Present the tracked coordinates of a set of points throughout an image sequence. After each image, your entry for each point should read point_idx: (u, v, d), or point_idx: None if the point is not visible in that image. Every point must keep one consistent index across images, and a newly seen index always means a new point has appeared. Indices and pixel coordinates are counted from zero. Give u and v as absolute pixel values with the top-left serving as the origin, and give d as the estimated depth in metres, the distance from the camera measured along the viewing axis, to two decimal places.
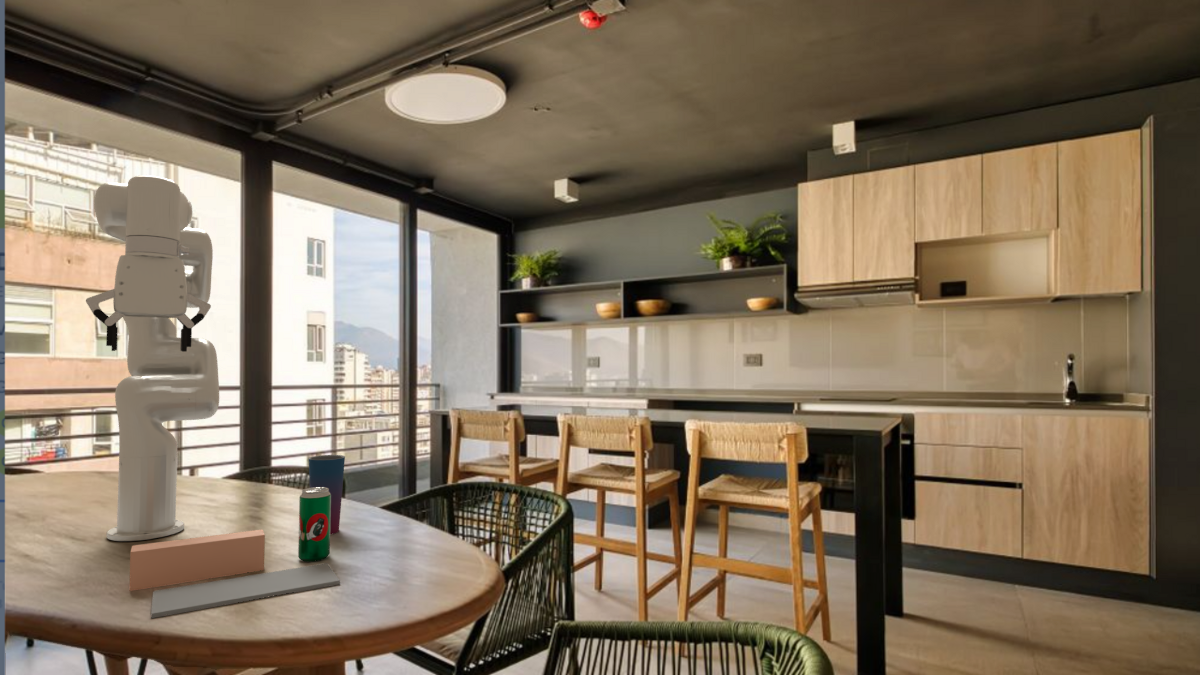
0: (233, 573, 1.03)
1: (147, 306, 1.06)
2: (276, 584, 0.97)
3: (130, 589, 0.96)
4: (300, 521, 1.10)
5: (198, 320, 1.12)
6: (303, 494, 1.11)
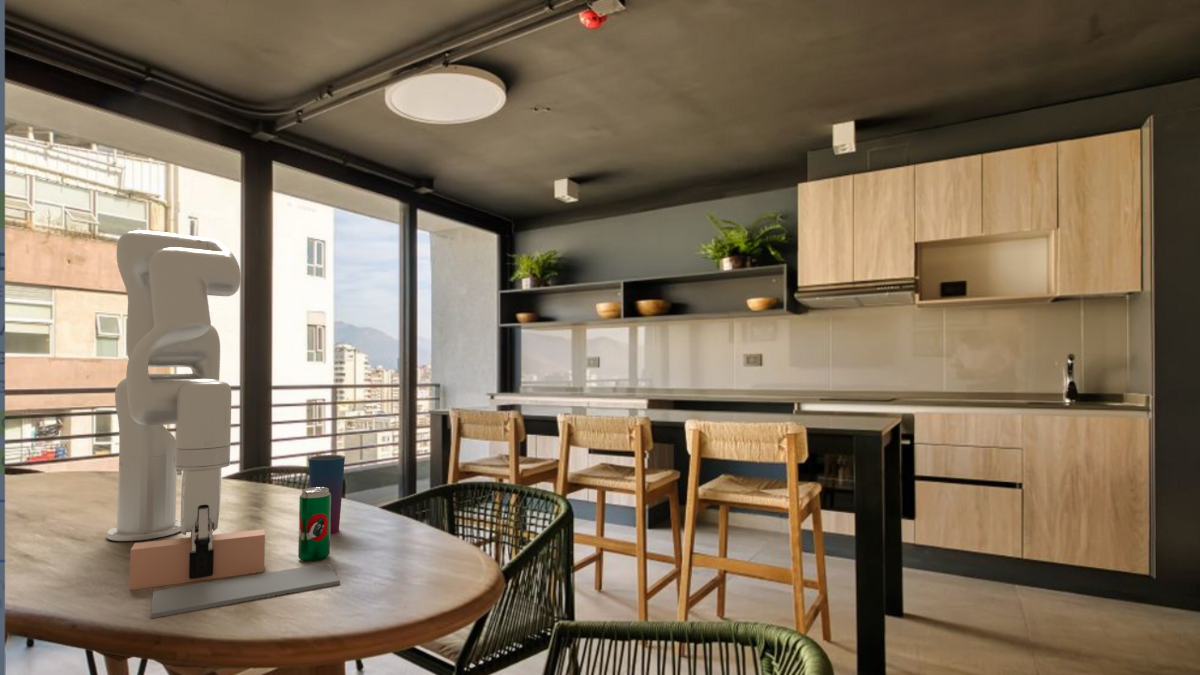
0: (233, 573, 1.03)
1: None
2: (276, 584, 0.97)
3: (130, 587, 0.97)
4: (300, 521, 1.10)
5: None
6: (303, 494, 1.11)
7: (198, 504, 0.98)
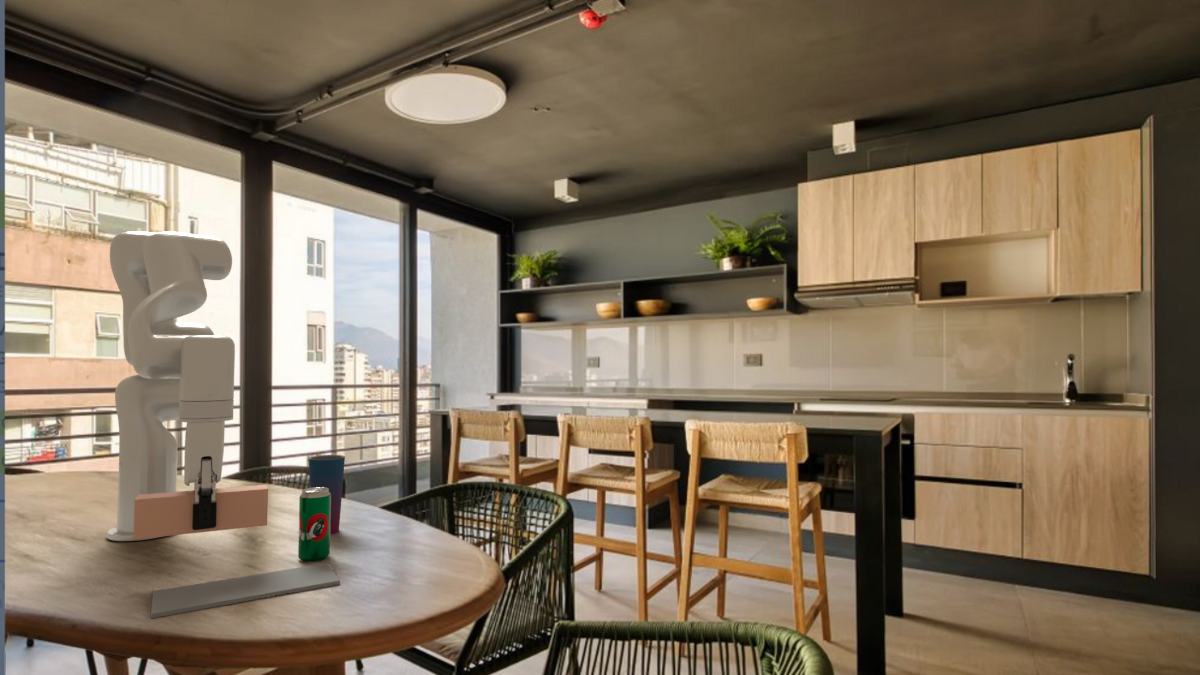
0: (236, 525, 1.04)
1: None
2: (276, 584, 0.97)
3: (134, 536, 0.97)
4: (300, 521, 1.10)
5: None
6: (303, 494, 1.11)
7: (201, 455, 0.99)
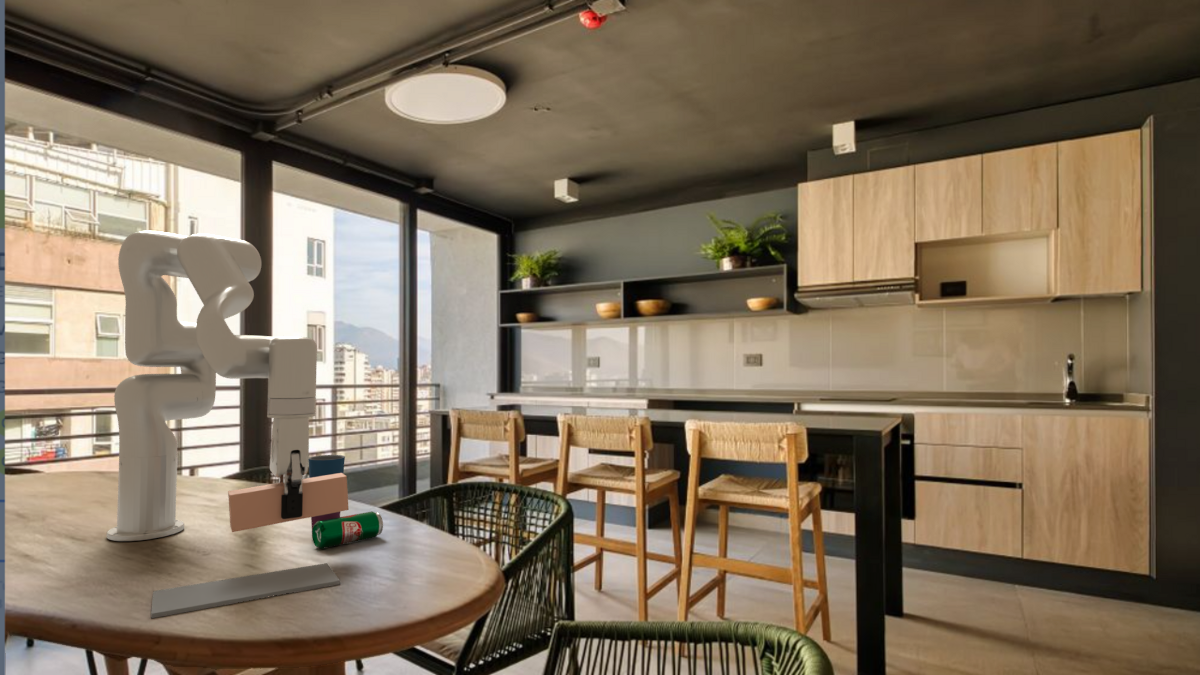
0: (321, 512, 1.11)
1: None
2: (276, 584, 0.97)
3: (232, 529, 1.04)
4: None
5: None
6: None
7: (291, 449, 1.06)
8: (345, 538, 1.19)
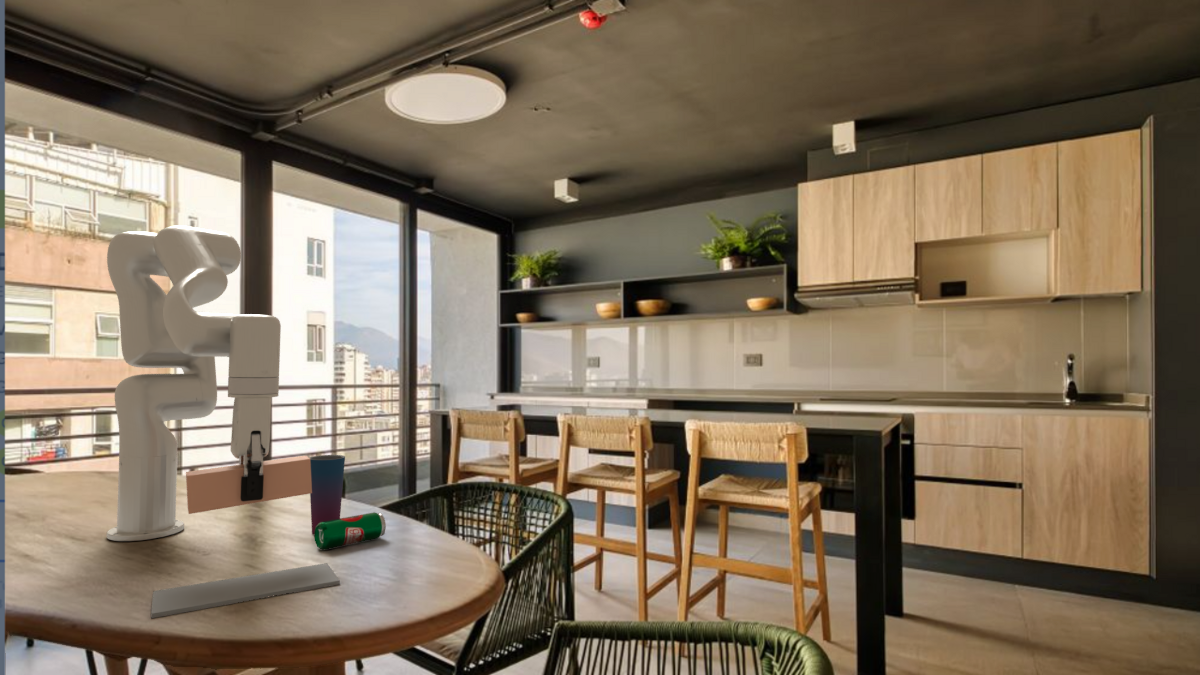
0: (283, 495, 1.08)
1: None
2: (276, 584, 0.97)
3: (189, 511, 1.01)
4: None
5: None
6: None
7: (251, 429, 1.03)
8: (346, 543, 1.18)
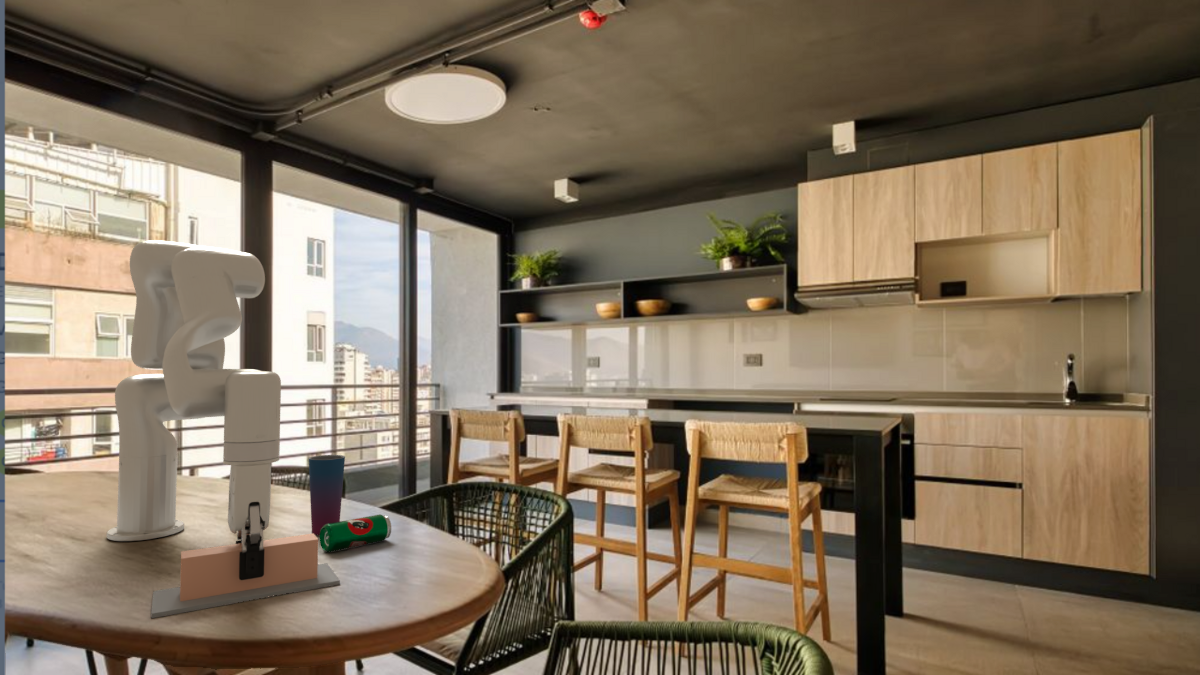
0: (286, 580, 0.98)
1: None
2: None
3: (181, 598, 0.90)
4: None
5: None
6: None
7: (249, 501, 0.93)
8: None
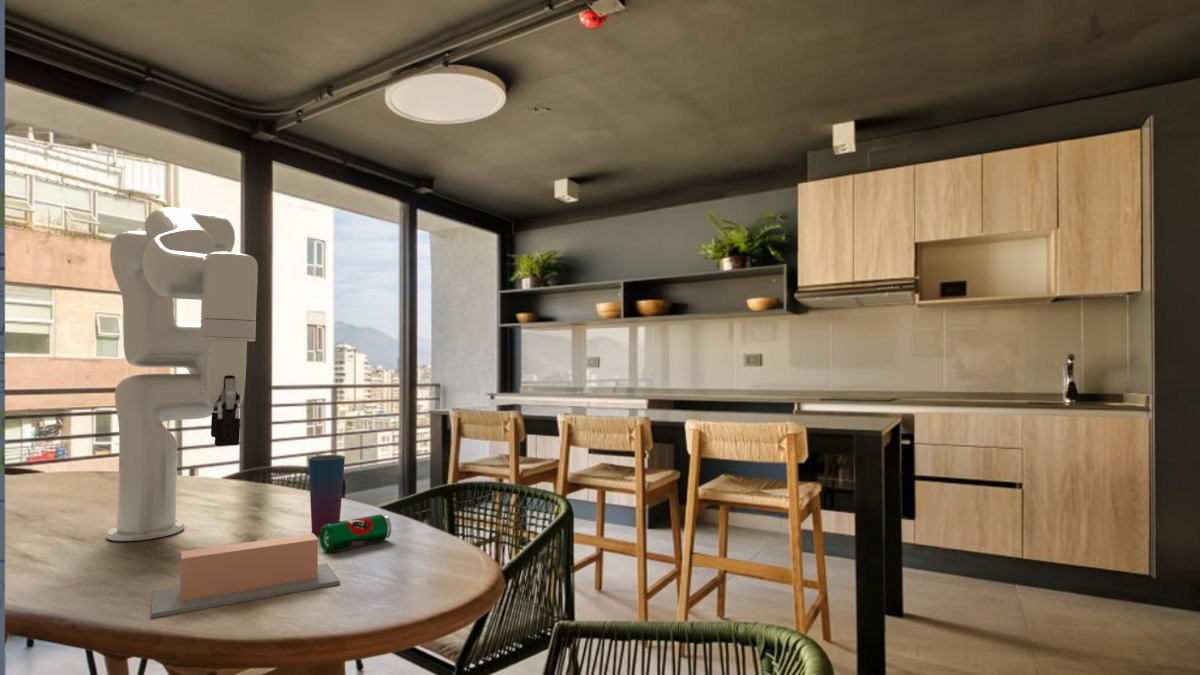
0: (286, 580, 0.98)
1: None
2: None
3: (181, 598, 0.90)
4: None
5: None
6: None
7: (224, 374, 0.96)
8: None
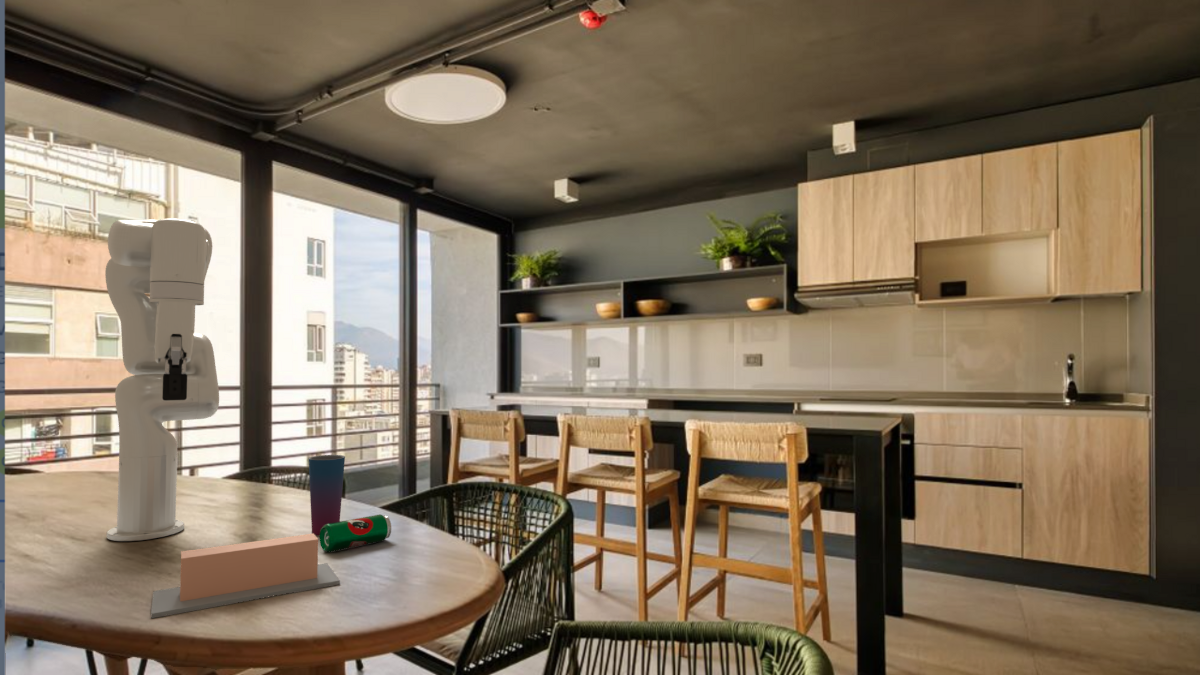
0: (286, 580, 0.98)
1: None
2: None
3: (181, 598, 0.90)
4: None
5: None
6: None
7: (171, 332, 1.01)
8: None
